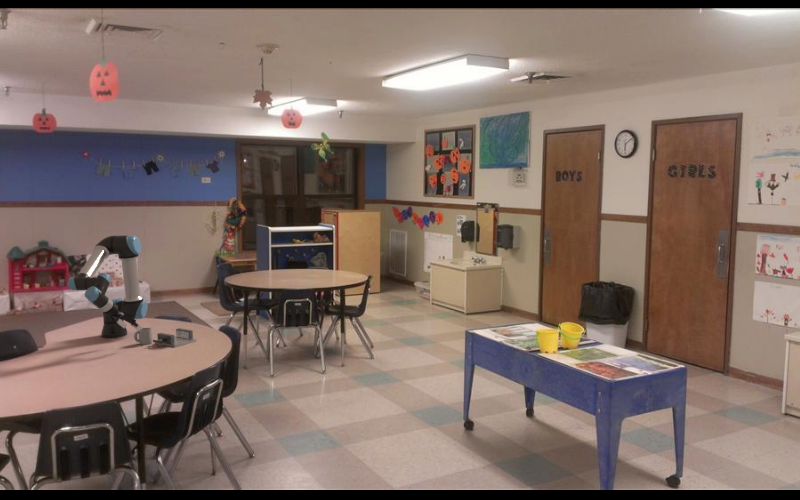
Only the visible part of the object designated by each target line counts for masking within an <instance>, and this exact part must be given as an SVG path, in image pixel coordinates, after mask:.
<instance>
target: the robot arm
mask: <svg viewBox="0 0 800 500" xmlns="http://www.w3.org/2000/svg"><path fill="white" fill-rule="evenodd" d="M141 253H142V244H141V241H140V239H139V237H138V236H136V235H127V234H126V235H110V236H107V237H105V238H103V239H102V240H100V241H99V242H98V243H97V244H96V245H95V246H94V247H93V249H92V253H91V255H90V256H89V258H88V260H86V262H85V264H84V265H83V266H82V268H81V269H80V271H79V272H78V274H77V275H76V276H71V277H69V278H68V281H67V287H68V289H69V290H71V291H78V292H79V291H85V292H84V297H85V298H86V299H87V300H88V301H89V302H90V303H92V304H93V305H94V306H95V307H96V308H98V310H99V311H100V312H102V317H103V325H102V326H103V327H102V330H101V337H102V338H106V339H114V338H115V339H116V338H120V337H124V336H127V335H128V329H127V326H128V324H127V323H129V324H130V326H132V327H133V328H134V329H135V330H136V331H139V330H140V329H141V328H142V326H141V325H140V324H139V323H138V322H137V320H142V319H144V318H145V317H146V315H147V313H148V307H149V304H148V302H147V300H144V297H143V296H142V295H141V291H140V290H141V289H140V283H139V281H140V280H139V273H138V272H139V271H138V264H137V263H138V262H137V259H138V258H139V255H140V254H141ZM111 255H117V256H118V259H119V260H120V261H121V268H122V275H123V285H124V295H125V297H124V298H120V297H119V298H112V299H110V298H109V297H108V296H107V295H106V293H107V291H108V288H109V286H110V285H111V280H112V277H111V275H110V274H108V273H106V272H100V273H98V274H97V276H95V275H96V273H97V272H98V270H99V268H100V267H101V265H102V264H103V262H104V261H105V259H107V258H109V256H111Z"/></svg>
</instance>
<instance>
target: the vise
mask: <svg viewBox="0 0 800 500" xmlns="http://www.w3.org/2000/svg"><path fill="white" fill-rule="evenodd" d="M156 334H157V340H156V339H152V343H154V344H155V345H160V346H164V347H165V346H166V347H170V348H178V347H181V346H185V345H188V343H189V344H193V343H196V342H197V341H198V340H197V338H194V336H193V335H194V332H193V330H192V329H186V328H176V329H175V335H174V334H171V333H170V334H169V333H163V332H158V333H156Z"/></svg>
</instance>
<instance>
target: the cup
mask: <svg viewBox="0 0 800 500" xmlns="http://www.w3.org/2000/svg"><path fill="white" fill-rule="evenodd" d="M152 329H153V328H152V327H141V329H140V330H139V331H138V330H136V332H134V335H133V339H134V341H135V342H137V343H139V345H140V346H146V345H152V343H153V335H152V334H153V332H152Z"/></svg>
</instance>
